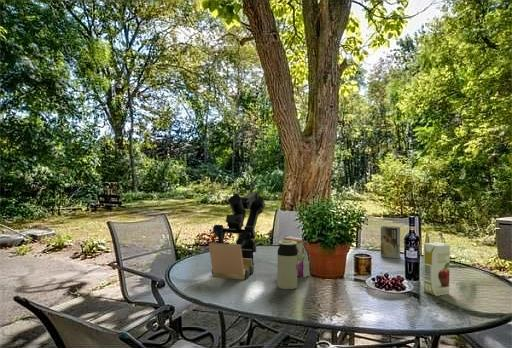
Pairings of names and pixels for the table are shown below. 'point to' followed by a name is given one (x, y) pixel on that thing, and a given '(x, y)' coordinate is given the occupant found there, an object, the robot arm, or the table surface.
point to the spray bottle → (300, 257)
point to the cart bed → (247, 271)
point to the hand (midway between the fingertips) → (229, 247)
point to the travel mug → (287, 265)
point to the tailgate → (226, 258)
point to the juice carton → (436, 268)
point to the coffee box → (390, 242)
